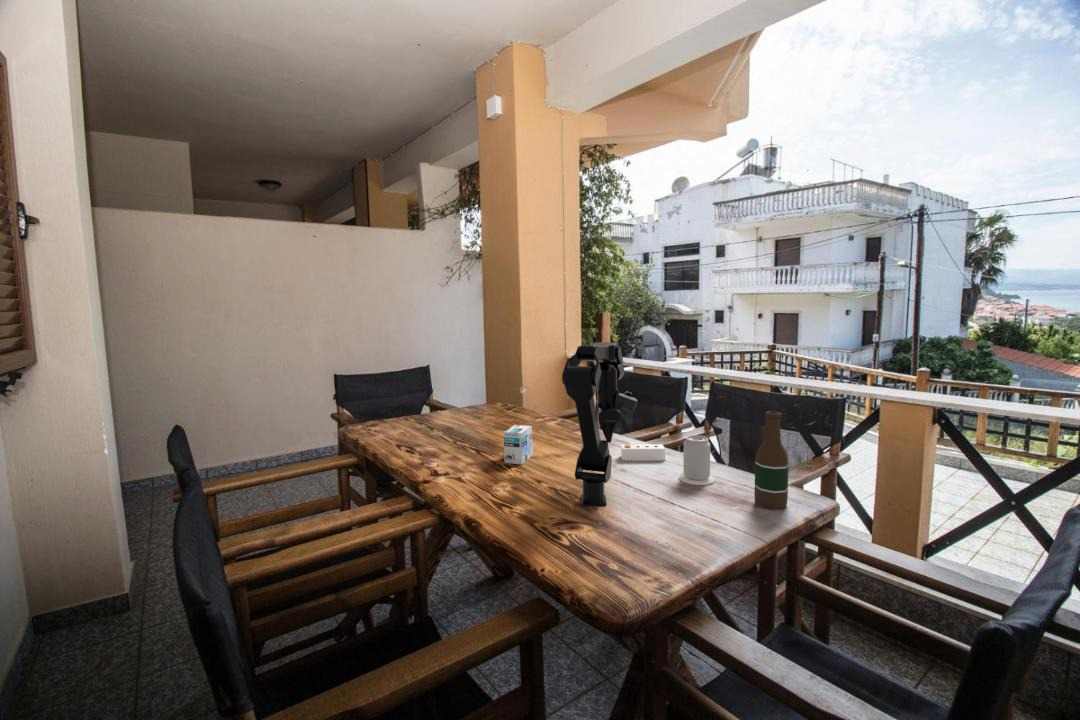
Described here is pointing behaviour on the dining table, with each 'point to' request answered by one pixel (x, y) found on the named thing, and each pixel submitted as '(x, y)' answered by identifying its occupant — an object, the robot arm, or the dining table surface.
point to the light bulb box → (518, 444)
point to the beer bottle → (771, 466)
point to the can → (696, 458)
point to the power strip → (643, 452)
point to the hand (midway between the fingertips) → (607, 437)
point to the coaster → (692, 482)
